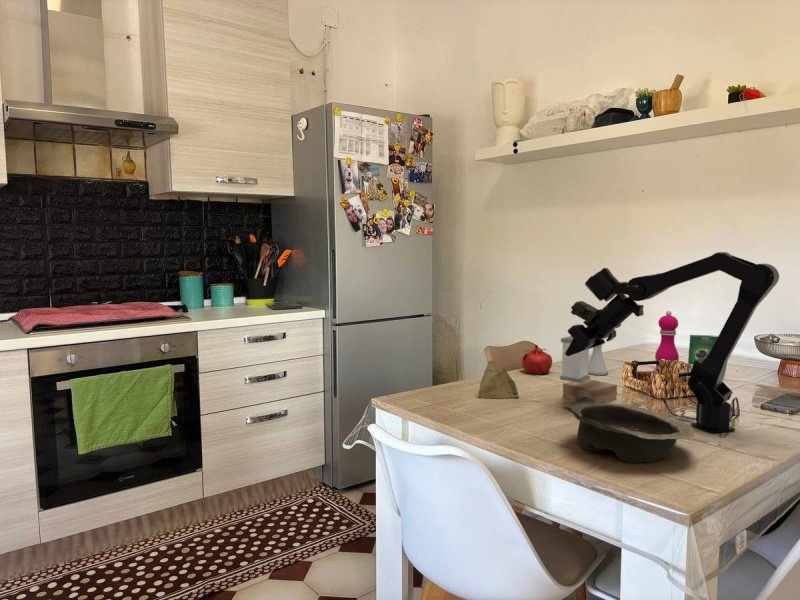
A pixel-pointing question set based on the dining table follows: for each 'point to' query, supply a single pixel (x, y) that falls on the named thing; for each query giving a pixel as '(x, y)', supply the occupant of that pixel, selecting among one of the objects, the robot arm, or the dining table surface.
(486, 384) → the rock
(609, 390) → the stand
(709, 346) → the coffee box
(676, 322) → the pepper mill
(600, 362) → the flask
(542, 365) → the pomegranate
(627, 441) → the stone bowl
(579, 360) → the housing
